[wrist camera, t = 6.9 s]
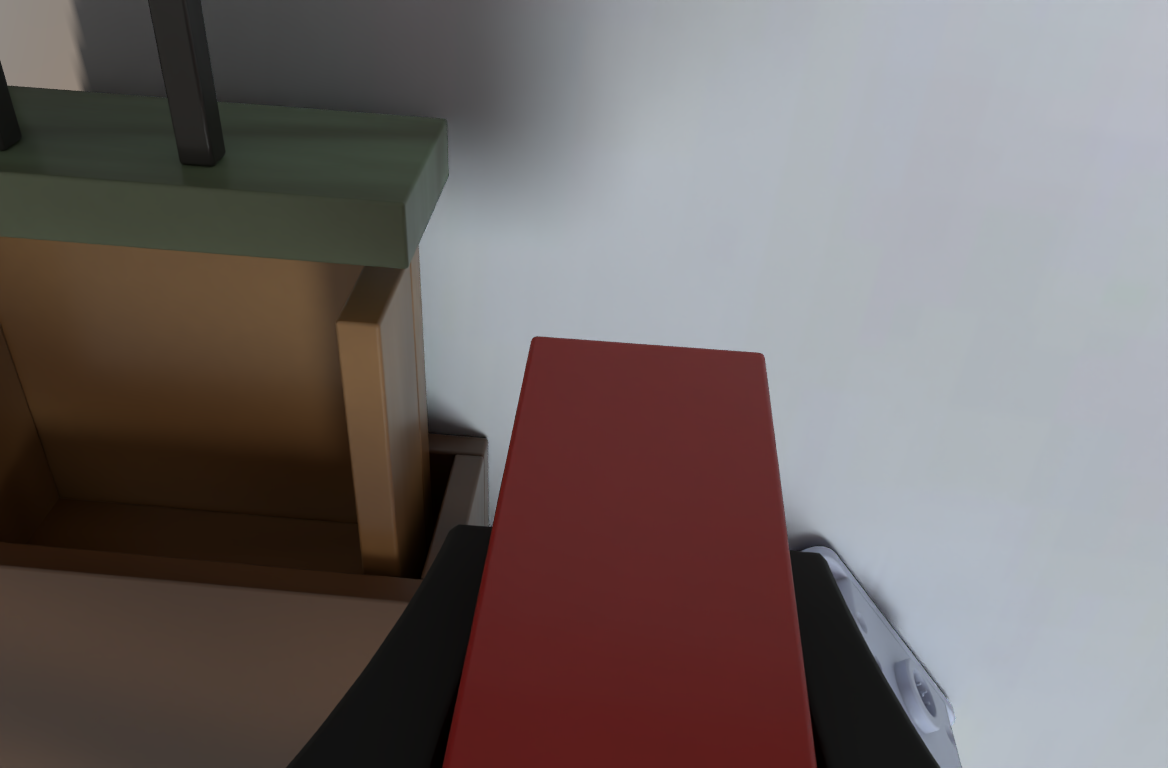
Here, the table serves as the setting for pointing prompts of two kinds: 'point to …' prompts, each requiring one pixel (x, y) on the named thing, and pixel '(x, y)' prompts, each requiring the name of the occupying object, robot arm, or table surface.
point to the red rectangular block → (636, 572)
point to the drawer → (214, 322)
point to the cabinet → (197, 644)
